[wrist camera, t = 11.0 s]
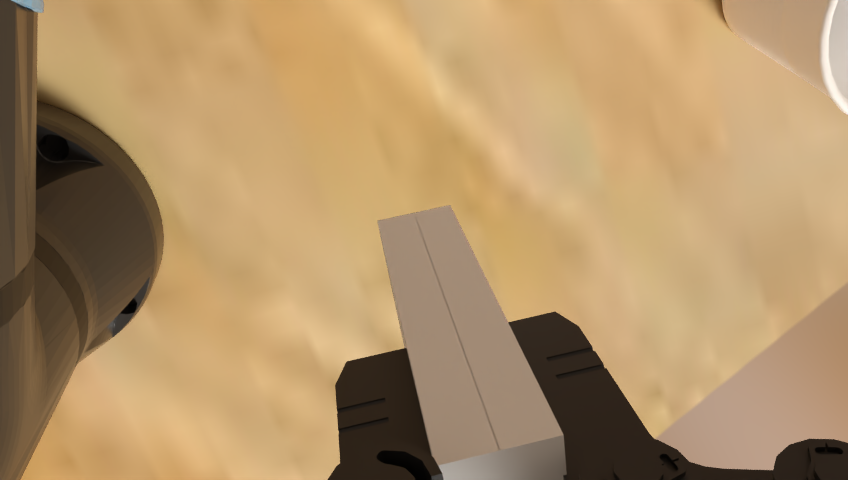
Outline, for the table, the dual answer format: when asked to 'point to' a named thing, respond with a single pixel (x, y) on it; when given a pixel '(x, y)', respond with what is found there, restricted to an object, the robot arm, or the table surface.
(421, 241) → the robot arm
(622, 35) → the table surface
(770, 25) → the cup
